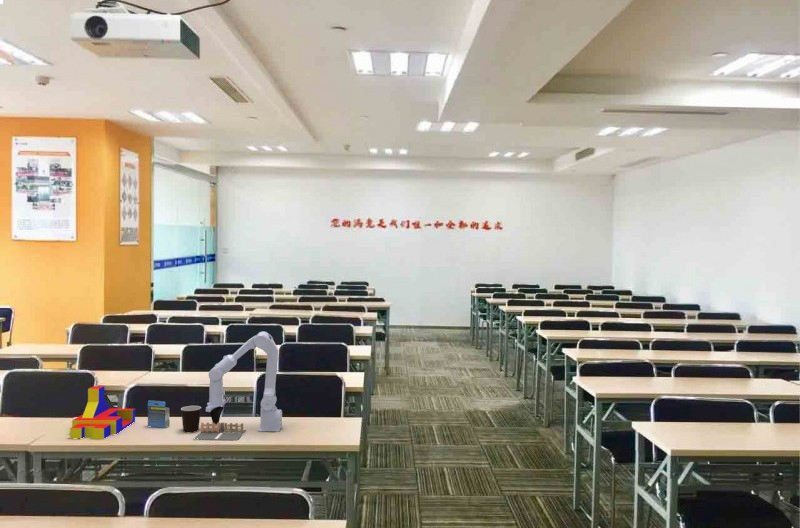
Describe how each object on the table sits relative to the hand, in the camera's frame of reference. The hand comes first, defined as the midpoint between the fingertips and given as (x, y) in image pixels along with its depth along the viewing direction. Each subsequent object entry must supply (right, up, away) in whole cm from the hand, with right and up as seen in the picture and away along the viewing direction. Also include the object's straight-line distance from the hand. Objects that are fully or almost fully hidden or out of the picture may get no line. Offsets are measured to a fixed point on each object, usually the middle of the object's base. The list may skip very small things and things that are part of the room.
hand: (215, 423), depth 259 cm
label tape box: (-27, -3, +4) cm, 28 cm away
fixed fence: (+8, -3, -4) cm, 10 cm away
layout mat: (+4, -3, -7) cm, 9 cm away
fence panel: (-1, -2, -4) cm, 5 cm away
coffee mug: (-11, -3, +1) cm, 11 cm away
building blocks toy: (-50, -3, -2) cm, 50 cm away
